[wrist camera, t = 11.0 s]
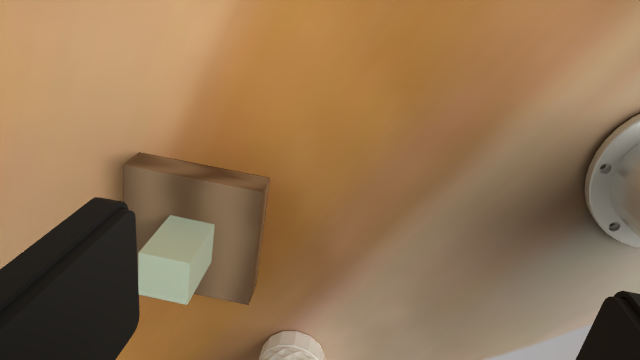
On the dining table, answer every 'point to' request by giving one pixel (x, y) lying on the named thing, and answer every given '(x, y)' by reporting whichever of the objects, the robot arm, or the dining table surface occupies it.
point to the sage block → (175, 259)
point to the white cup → (291, 347)
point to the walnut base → (203, 215)
